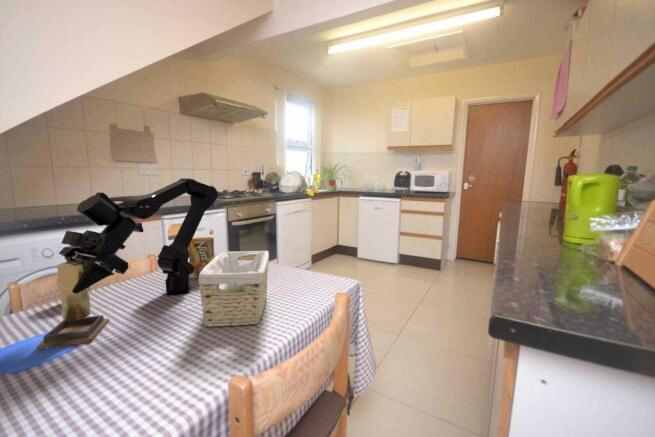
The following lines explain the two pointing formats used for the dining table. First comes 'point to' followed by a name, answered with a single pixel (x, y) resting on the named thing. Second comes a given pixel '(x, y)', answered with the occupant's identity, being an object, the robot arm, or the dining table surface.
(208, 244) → the candy box
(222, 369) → the dining table surface
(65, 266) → the billet
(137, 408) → the dining table surface
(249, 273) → the storage basket
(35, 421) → the dining table surface
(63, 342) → the square brown tray
